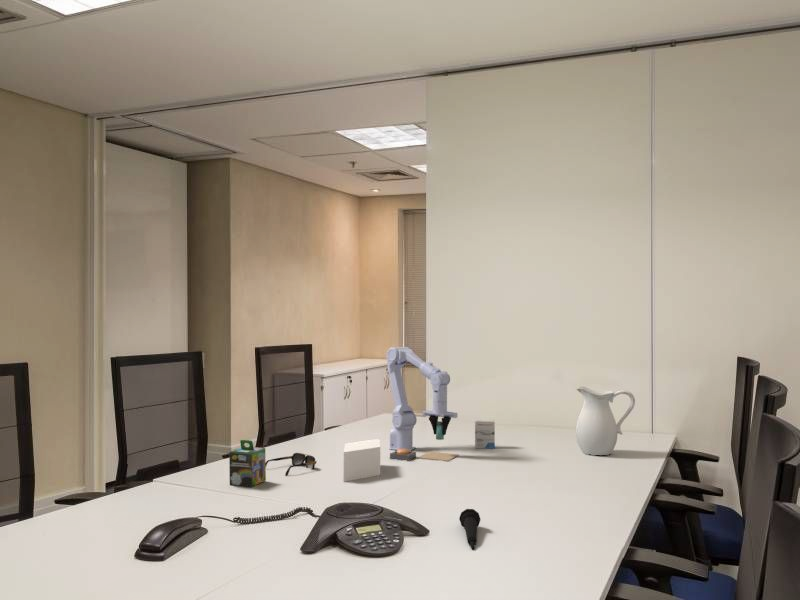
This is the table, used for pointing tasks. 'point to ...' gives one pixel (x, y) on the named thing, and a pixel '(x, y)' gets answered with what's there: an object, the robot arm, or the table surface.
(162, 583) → the table surface
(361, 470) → the white rectangular block
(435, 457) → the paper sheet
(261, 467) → the chalk box
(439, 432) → the cylindrical container
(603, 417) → the pitcher
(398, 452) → the button
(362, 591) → the table surface
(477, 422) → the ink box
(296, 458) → the sunglasses
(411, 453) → the button frame
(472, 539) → the microphone
